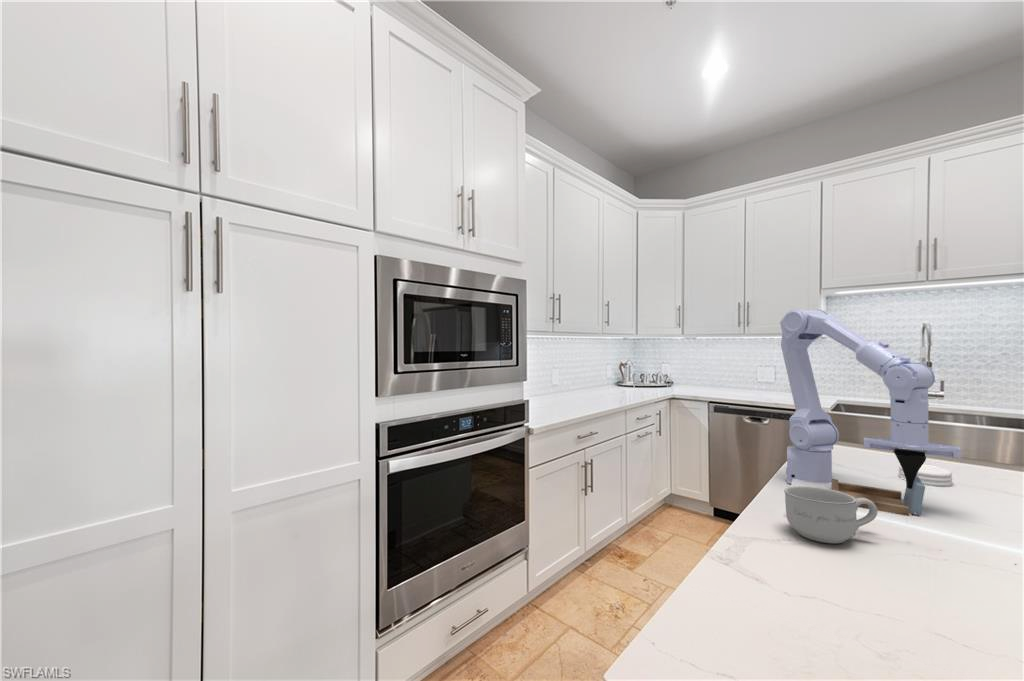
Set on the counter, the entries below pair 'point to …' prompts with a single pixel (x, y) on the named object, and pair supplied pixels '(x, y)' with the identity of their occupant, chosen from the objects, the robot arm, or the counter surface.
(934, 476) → the coaster
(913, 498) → the tailgate
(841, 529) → the teacup
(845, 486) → the wooden tray
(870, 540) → the counter surface
